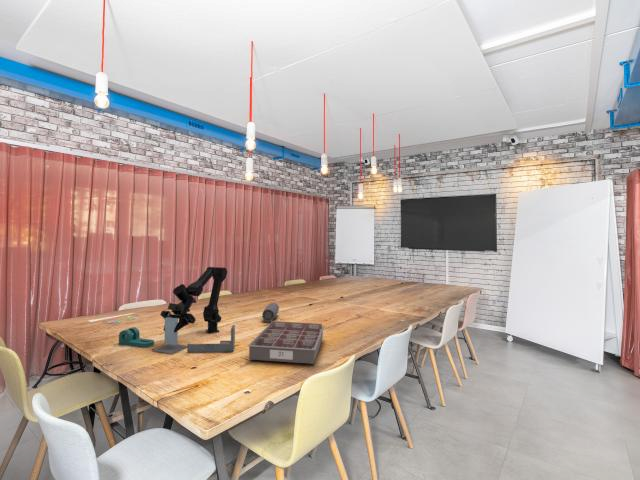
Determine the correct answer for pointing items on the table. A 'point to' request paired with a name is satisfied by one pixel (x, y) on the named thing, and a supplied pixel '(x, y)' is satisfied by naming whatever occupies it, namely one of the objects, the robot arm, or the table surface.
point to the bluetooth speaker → (270, 312)
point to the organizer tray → (287, 342)
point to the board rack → (214, 345)
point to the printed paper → (114, 320)
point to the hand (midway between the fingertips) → (169, 331)
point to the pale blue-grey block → (171, 331)
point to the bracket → (134, 338)
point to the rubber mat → (170, 348)
